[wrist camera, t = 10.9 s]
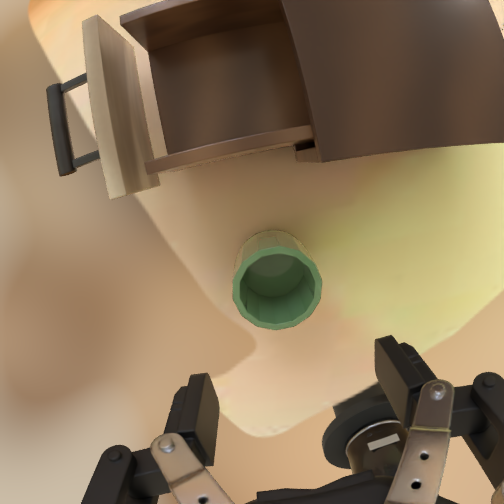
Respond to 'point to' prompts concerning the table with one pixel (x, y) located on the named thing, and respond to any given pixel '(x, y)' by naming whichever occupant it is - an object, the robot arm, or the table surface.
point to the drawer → (185, 90)
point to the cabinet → (396, 74)
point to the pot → (275, 281)
